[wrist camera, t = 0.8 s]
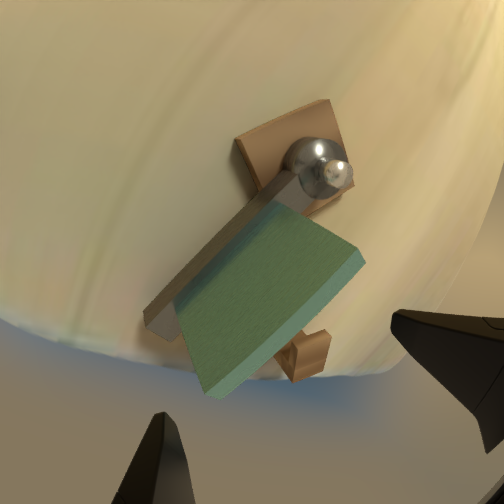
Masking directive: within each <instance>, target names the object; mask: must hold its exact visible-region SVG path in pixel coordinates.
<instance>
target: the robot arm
mask: <svg viewBox="0 0 504 504" xmlns="http://www.w3.org/2000/svg"><path fill="white" fill-rule="evenodd" d="M390 329H391V332H392V334H393V335H394V336H395V338H396V339H397V340H398V341H399V342H400V343H401V345H402V346H403V347H404V348H405V349H406V350H407V352H408V353H409V354H410V355H411V356H412V357H413V358H414V359H415V360H416V361H417V362H418V363H419V364H420V365H422V366H423V367H424V368H425V369H426V370H427V371H428V372H429V373H430V374H431V375H432V376H433V377H434V378H435V379H437V380H438V381H439V382H440V383H441V384H442V385H443V386H444V387H445V388H446V389H447V390H448V391H449V392H450V393H451V394H452V395H453V396H454V397H455V398H457V400H458V401H460V402H461V403H462V404H463V405H464V406H465V407H466V408H467V409H468V410H469V411H470V412H471V413H472V414H473V415H474V416H475V418H476V419H477V421H478V424H479V428H480V432H481V436H482V440H483V444H484V449H485V452H486V453H487V454H488V453H489V452H490V451H492V450H493V449H494V448H495V447H496V446H497V445H498V444H499V443H500V442H501V441H503V439H504V318H492V317H482V318H481V317H476V316H464V315H454V314H443V313H433V312H424V311H415V310H406V309H399V310H398V311H396V312H394V313H393V314H392V320H391V327H390ZM111 504H196V503H195V499H194V494H193V489H192V485H191V479H190V474H189V468H188V463H187V459H186V455H185V452H184V449H183V445H182V442H181V439H180V435H179V432H178V428H177V426H176V424H175V422H174V421H173V420H172V419H171V418H170V417H169V415H168V414H167V413H166V412H160V413H156V414H155V415H154V416H153V418H152V420H151V422H150V424H149V426H148V428H147V430H146V433H145V434H144V436H143V439H142V440H141V443H140V445H139V447H138V449H137V451H136V453H135V455H134V457H133V459H132V461H131V463H130V466H129V468H128V470H127V472H126V474H125V476H124V478H123V480H122V482H121V484H120V487H119V489H118V492H116V494H115V497H114V499H113V501H112V503H111ZM478 504H504V475H503V476H502V477H501V479H500V480H499V481H498V482H497V483H496V484H495V486H494V487H493V488H492V489H491V490H490V491H489V492H488V493H487V494H486V495H485V496H484V497H483V498H482V499H481V501H480V502H479V503H478Z"/></svg>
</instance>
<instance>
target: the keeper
mask: <svg viewBox="0 0 504 504" xmlns="http://www.w3.org/2000/svg"><path fill="white" fill-rule="evenodd" d="M331 338H332V336H331V335H330V334H329V333H328V332H327V331H326V330H325V329H324V330H321V331H318V332H316V333H313V334H310V335H306V334H305V333H304V332H303V331H302V329H301V330H300V331H299V332H298V333H297V334H296V335H295V336H294V337H293V338H292V339H291V340H290V341H289V342H288V343H287V344H285V345H284V346H283V347H282V348H281V349H280V350H279V351H278V352H277V353H276V354H274V355H273V356H274V358H275V359H276V361H277V362H278V363H279V365H280V366H281V368H282V369H283V371H284V372H285V374H286V375H287V376H288V378H289V379H290V381H291V382H292V383H294V382H297V381H300V380H302V379H305V378H307V377H310V376H312V375H315V374H317V373H319V372H322V371H323V369H324V365H325V362H326V358H327V354H328V350H329V346H330V342H331Z"/></svg>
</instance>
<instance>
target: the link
mask: <svg viewBox="0 0 504 504" xmlns="http://www.w3.org/2000/svg"><path fill="white" fill-rule="evenodd" d="M352 178H353V169H352V167H351V165H350V164H349V163H348V161H347V157H346V154H345V152H344V150H343V148H342V147H341V146H340V145H339V144H338V143H337V142H335V141H333V140H330V139H324V138H318V137H309V136H308V137H302V138H300V139H298V140H296V141H295V142H294V143H293V144H292V145H291V146H290V147H289V149H288V150H287V152H286V155H285V158H284V162H283V170H282V171H281V172H280V173H279V174H278V175H277V176H276V177H275V178H273V179H272V180H271V181H270V182H269V183H268V184H267V185H266V186H265V187H264V188H263V189H262V190H261V191H260V192H259V193H258V194H257V195H256V196H255V197H254V198H253V199H252V200H251V201H250V202H249V203H248V204H247V205H246V206H245V207H243V208H242V209H241V210H240V211H239V212H238V213H237V214H236V215H235V216H234V217H233V218H232V219H231V220H230V221H229V222H228V223H227V224H226V225H225V226H224V227H223V228H222V229H221V230H220V231H219V232H218V233H217V234H216V235H215V236H214V237H213V238H212V239H211V240H210V241H209V242H208V243H207V244H206V245H205V246H204V247H203V249H202V250H201V251H200V252H199V253H198V254H197V255H196V256H195V257H194V258H193V259H192V260H191V261H190V262H189V263H188V264H187V265H186V266H185V267H184V268H183V269H182V270H181V271H180V272H179V273H178V274H177V275H176V276H175V277H174V279H173V280H172V281H171V282H170V283H169V284H168V285H167V286H166V287H165V288H164V289H163V290H162V291H161V292H160V293H159V294H158V295H157V297H156V298H155V299H154V300H153V301H152V302H151V303H150V304H149V305H148V306H147V307H146V308H145V309H144V311H143V314H144V321H145V327H146V328H147V329H149V330H150V331H152V332H154V333H156V334H157V335H159V336H161V337H163V338H164V339H166V340H168V341H170V342H172V341H173V340H174V339H175V338H176V337H177V336H178V335H179V334H180V333H181V332H182V333H183V336H184V339H185V342H186V345H187V348H188V351H189V354H190V357H191V360H192V362H193V365H194V368H195V371H196V373H197V376H198V379H199V381H200V384H201V386H202V389H203V391H204V394H206V395H208V396H211V397H214V398H217V399H219V400H221V399H223V398H224V397H225V396H227V395H228V394H229V393H230V392H231V391H233V390H234V389H235V388H236V387H238V386H239V385H240V384H241V383H242V382H244V381H245V380H246V379H247V378H248V377H249V376H251V375H252V374H253V373H254V372H255V371H256V370H258V369H259V368H260V367H261V366H262V365H263V364H264V363H266V362H267V361H268V360H269V359H270V358H271V357H272V356H273V355H274V354H276V353H277V352H278V351H279V350H280V349H281V348H282V347H283V346H284V345H285V344H287V343H288V342H289V341H290V340H291V339H292V338H293V337H294V336H295V335H296V334H297V333H298V332H299V331H300V330H301V329H302V328H303V327H305V326H306V325H307V324H308V323H309V322H310V321H311V320H312V319H313V318H314V317H315V316H316V315H317V314H318V313H319V312H320V311H321V310H322V309H323V308H324V307H325V306H326V305H327V304H328V303H329V302H330V301H331V300H332V299H333V298H334V297H335V296H336V295H337V293H338V292H339V291H340V290H341V289H342V288H343V287H344V286H345V285H346V284H347V283H348V282H349V281H350V280H351V279H352V278H353V277H354V275H355V274H356V273H357V272H358V271H359V270H360V269H361V268H362V267H363V266H364V264H365V263H366V262H365V260H364V258H363V257H362V255H361V253H360V251H359V249H358V248H357V247H355V246H353V245H352V244H350V243H349V242H347V241H345V240H344V239H342V238H340V237H339V236H337V235H335V234H334V233H332V232H330V231H329V230H327V229H325V228H324V227H322V226H320V225H319V224H317V223H315V222H313V221H312V220H310V219H308V218H306V217H305V216H303V215H301V213H302V212H303V211H304V210H305V209H306V208H307V207H308V206H309V205H310V204H311V203H312V202H313V201H314V200H315V199H317V200H324V199H328V198H330V197H332V196H333V195H335V194H336V193H337V192H338V191H339V190H340V189H344V188H346V187H348V186H349V184H350V183H351V181H352Z"/></svg>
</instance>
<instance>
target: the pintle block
mask: <svg viewBox="0 0 504 504" xmlns="http://www.w3.org/2000/svg"><path fill="white" fill-rule="evenodd" d="M308 136H309V137H318V138H324V139H330V140H333V141H335V142H337V143H338V144H339V145H340V146H341V147H342V148H343V150H344V152H345V154H346V151H345V148H344V144H343V141H342V137H341V134H340V131H339V128H338V124H337V121H336V118H335V115H334V112H333V109H332V106H331V103H330V100H329V99H327V100H318V101H316V102H313V103H311V104H308V105H306V106H303V107H301V108H299V109H296V110H294V111H292V112H289V113H287V114H285V115H283V116H280V117H278V118H276V119H274V120H272V121H269V122H267V123H265V124H263V125H261V126H259V127H257V128H255V129H253V130H251V131H248V132H246V133H244V134H242V135H240V136H238V137H236V138H235V140H236V142H237V145H238V147H239V149H240V151H241V153H242V155H243V158H244V160H245V162H246V164H247V166H248V169H249V171H250V173H251V175H252V177H253V180H254V182H255V184H256V186H257V188H258V191H259V192H260V191H261V190H262V189H263V188H264V187H265V186H266V185H267V184H268V183H269V182H270V181H271V180H272V179H273V178H275V177H276V176H277V175H278V174H279V173H280V172H281V171H282V170H283V162H284V158H285V155H286V152H287V150H288V149H289V147H290V146H291V145H292V144H293V143H294V142H295V141H296V140H298V139H300V138H302V137H308ZM346 157H347V155H346ZM347 161H348V158H347ZM348 163H349V162H348ZM354 186H355V185H354V181H353V178H352V181H351V183H350V184H349V186H348V187H346V188H344V189H340V190H339V191H338V192H337V193H336V194H335V195H333V196H332V197H330V198H328V199H324V200H317V199H315V200H314V201H313V202H312V203H311V204H310V205H309V206H308V207H307V208H306V209H305V210H304V211H303V212H302V213H301V215H303V216H305V217H306V216H308V215H309V214H311V213H313V212H314V211H316V210H317V209H319V208H321V207H322V206H324V205H325V204H327V203H328V202H330V201H332V200H333V199H335V198H336V197H338V196H339V195H341V194H343V193H344V192H346V191H347V190H349V189H351V188H352V187H354Z"/></svg>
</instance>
